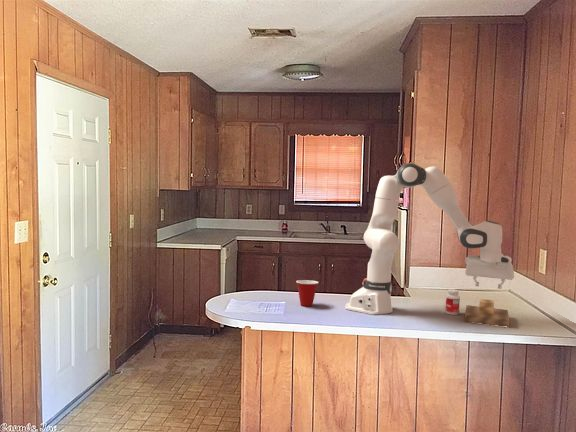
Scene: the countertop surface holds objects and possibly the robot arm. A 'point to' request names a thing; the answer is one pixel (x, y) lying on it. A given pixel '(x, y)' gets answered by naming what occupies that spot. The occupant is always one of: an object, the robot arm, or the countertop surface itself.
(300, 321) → the countertop surface
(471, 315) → the walnut block
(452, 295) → the pill bottle
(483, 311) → the oak block
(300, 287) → the plastic cup
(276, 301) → the countertop surface
